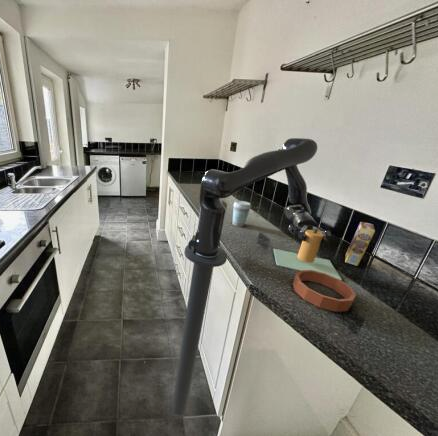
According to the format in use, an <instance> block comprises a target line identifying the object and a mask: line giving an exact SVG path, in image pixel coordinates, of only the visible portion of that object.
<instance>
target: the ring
mask: <svg viewBox="0 0 438 436" xmlns="http://www.w3.org/2000/svg"><path fill="white" fill-rule="evenodd" d="M304 282H312V283H317V284H321V285H323V286H325V287H327V288H329V289H331V290H334V292H336V293H338V294H339V295H341V297H343V298H340V299H338V298H335V297H332V296H327V295H324V294H322V293H320V292H317V291H315V290H313V289H311V288H310V287H308V285H306V284H305V283H304ZM292 286H293V287H292V288H293V290H294V292H295V293H296V294H297V295H298V296H300V297H301V299H303V300H304V301H306V302H308V303H310V304H311V305H314V306H315V307H317V308H320V309H323V310H327V311H330V312H335V313H338V312H339V313H340V312H349V310H350V308H351V307H352V305H353V303H354V301H355V299H356V298H357V294H356V292H355V291H354V289H353V288H352V287H351V286H350V285H348V284H347V283H346V282H345V281H341V280H340V279H337V278H335V277H333V276H330V275H328V274H326V273H322V272H317V271H313V270H301V271H298V272H297V273H295V276H294V279H293V281H292Z"/></svg>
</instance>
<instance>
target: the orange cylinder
mask: <svg viewBox="0 0 438 436" xmlns="http://www.w3.org/2000/svg"><path fill="white" fill-rule="evenodd" d="M305 234H306V236H307V237H306V240H305V241H302V240H301V244H300V247H299V251H298V253H297V254H298V256H297V258H298V259H300V260H301V261H304V262H308V263H313V262H314V260H315V257H316V258H317V254H318V251H319V249H320V246H321V245H322V244H321V241H322V238H323V234H322V233H320V232H318V229H315V228H314V230H306V232H305Z"/></svg>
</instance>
